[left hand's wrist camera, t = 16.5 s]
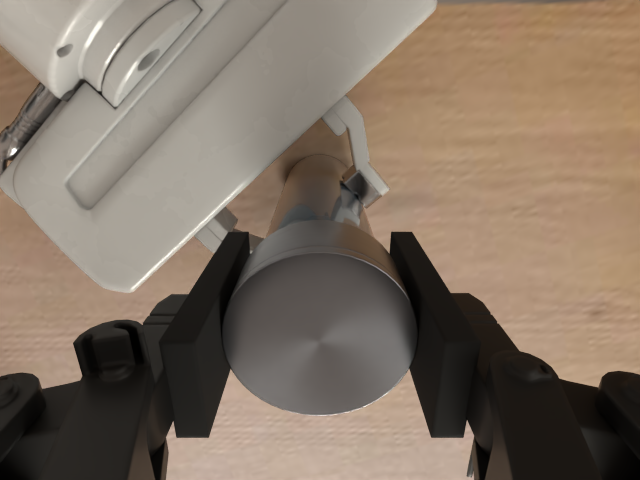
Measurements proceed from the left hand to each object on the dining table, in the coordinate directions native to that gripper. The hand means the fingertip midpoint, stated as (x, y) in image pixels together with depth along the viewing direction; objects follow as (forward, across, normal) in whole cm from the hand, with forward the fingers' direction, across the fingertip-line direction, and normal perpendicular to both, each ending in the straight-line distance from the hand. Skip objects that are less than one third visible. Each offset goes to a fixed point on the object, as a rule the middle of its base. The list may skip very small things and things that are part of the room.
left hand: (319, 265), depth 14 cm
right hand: (+5, -1, +1) cm, 5 cm away
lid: (-4, 0, 0) cm, 4 cm away
